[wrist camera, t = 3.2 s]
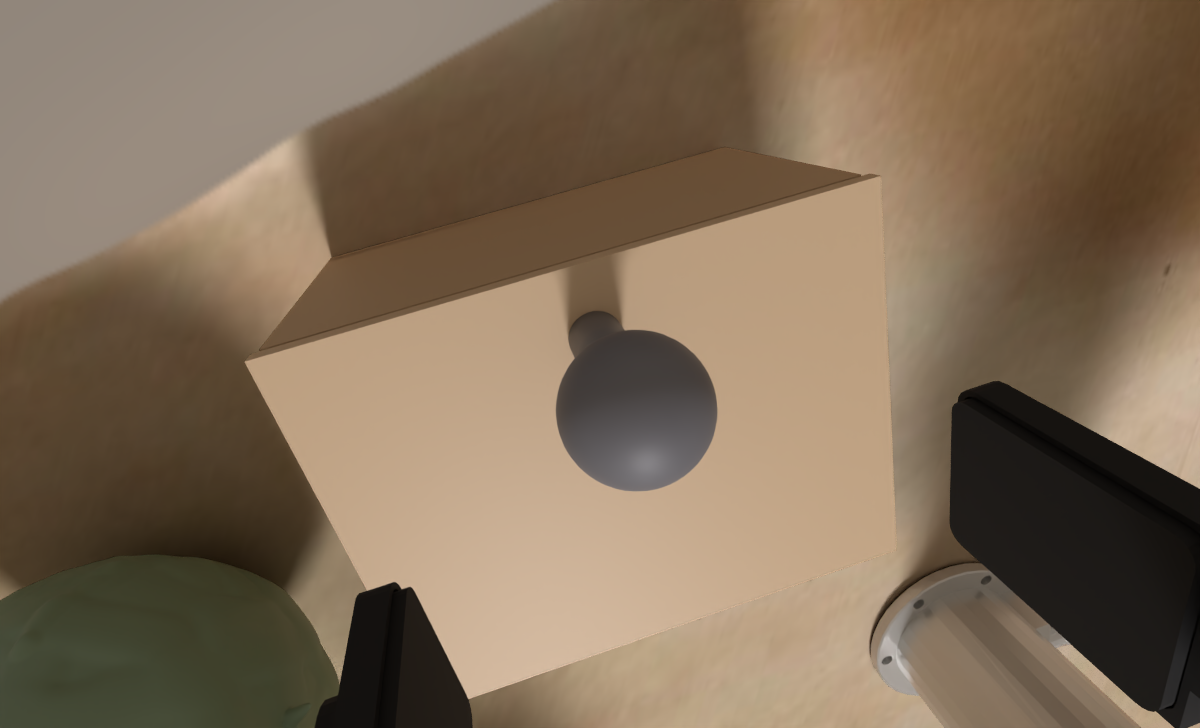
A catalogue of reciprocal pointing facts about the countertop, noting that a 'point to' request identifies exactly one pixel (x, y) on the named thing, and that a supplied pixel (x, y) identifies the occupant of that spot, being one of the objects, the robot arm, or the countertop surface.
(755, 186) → the carton
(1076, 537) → the robot arm
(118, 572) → the green lumpy rounded blob
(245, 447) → the countertop surface
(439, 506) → the lid
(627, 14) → the countertop surface
